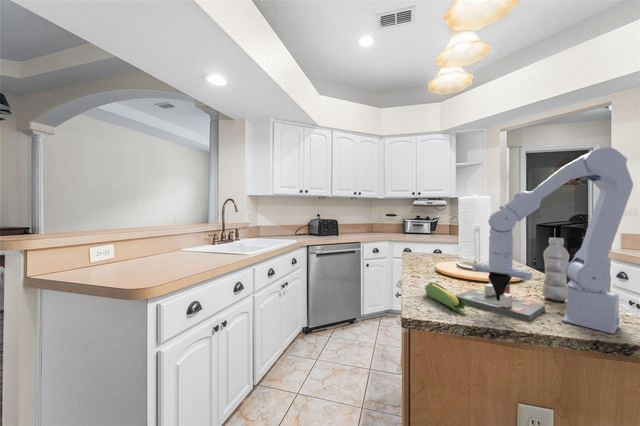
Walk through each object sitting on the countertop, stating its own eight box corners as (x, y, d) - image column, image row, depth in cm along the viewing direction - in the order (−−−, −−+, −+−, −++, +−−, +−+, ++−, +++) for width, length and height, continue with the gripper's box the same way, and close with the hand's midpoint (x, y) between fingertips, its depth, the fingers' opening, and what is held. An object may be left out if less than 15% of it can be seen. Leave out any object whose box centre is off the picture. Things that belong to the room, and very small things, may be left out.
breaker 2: (512, 305, 79) (512, 294, 79) (507, 307, 77) (507, 297, 77) (504, 303, 81) (505, 293, 81) (499, 306, 79) (500, 295, 78)
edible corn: (435, 294, 96) (435, 281, 96) (474, 316, 76) (474, 299, 76) (421, 294, 95) (421, 281, 95) (456, 317, 76) (456, 300, 75)
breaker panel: (544, 310, 80) (544, 304, 80) (529, 321, 72) (529, 315, 72) (472, 293, 96) (472, 288, 96) (453, 300, 88) (453, 295, 88)
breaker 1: (495, 293, 90) (495, 284, 90) (490, 295, 88) (491, 286, 88) (489, 292, 91) (489, 283, 91) (484, 294, 89) (484, 285, 89)
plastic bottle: (557, 297, 93) (559, 237, 93) (574, 303, 86) (575, 239, 86) (537, 296, 94) (538, 236, 93) (551, 303, 87) (553, 239, 86)
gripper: (468, 250, 83) (467, 295, 84) (525, 257, 72) (524, 310, 72) (478, 248, 88) (477, 291, 88) (534, 255, 76) (533, 304, 76)
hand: (499, 299), depth 80 cm, fingers closed
